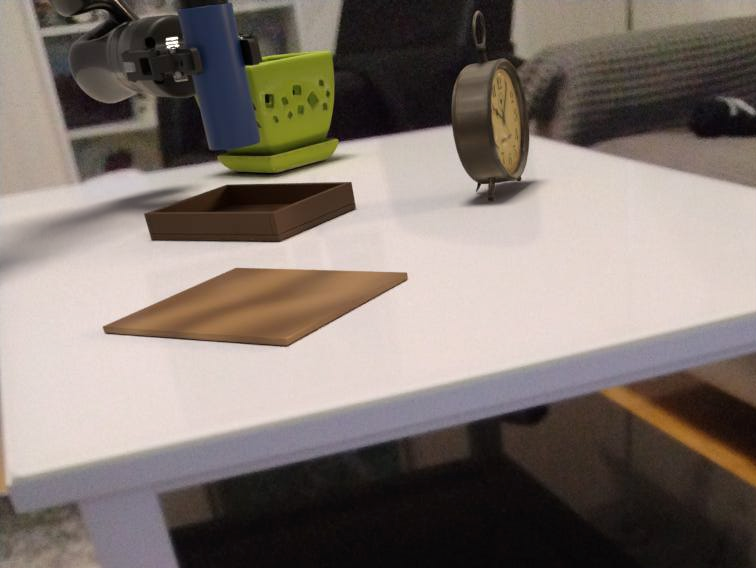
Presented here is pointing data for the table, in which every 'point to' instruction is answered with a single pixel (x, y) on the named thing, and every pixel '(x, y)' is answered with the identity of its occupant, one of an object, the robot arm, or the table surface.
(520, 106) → the alarm clock
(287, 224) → the tray
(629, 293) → the table surface
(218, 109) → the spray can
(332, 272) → the wooden board
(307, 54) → the flower pot
